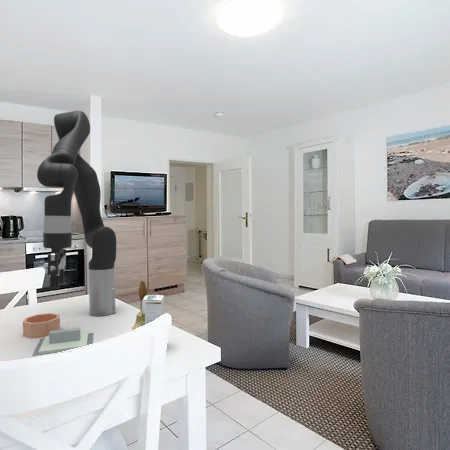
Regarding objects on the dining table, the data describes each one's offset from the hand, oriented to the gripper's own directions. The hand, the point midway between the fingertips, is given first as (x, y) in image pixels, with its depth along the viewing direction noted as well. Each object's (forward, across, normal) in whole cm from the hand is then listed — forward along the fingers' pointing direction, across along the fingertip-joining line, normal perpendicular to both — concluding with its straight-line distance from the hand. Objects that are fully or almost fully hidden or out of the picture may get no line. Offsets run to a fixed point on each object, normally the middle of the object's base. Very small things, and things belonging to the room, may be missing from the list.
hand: (57, 286), depth 101 cm
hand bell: (+16, +5, -25) cm, 31 cm away
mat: (+17, -2, -3) cm, 17 cm away
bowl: (+17, +10, +6) cm, 21 cm away
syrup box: (+17, -11, -27) cm, 34 cm away
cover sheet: (+16, -2, -3) cm, 17 cm away
